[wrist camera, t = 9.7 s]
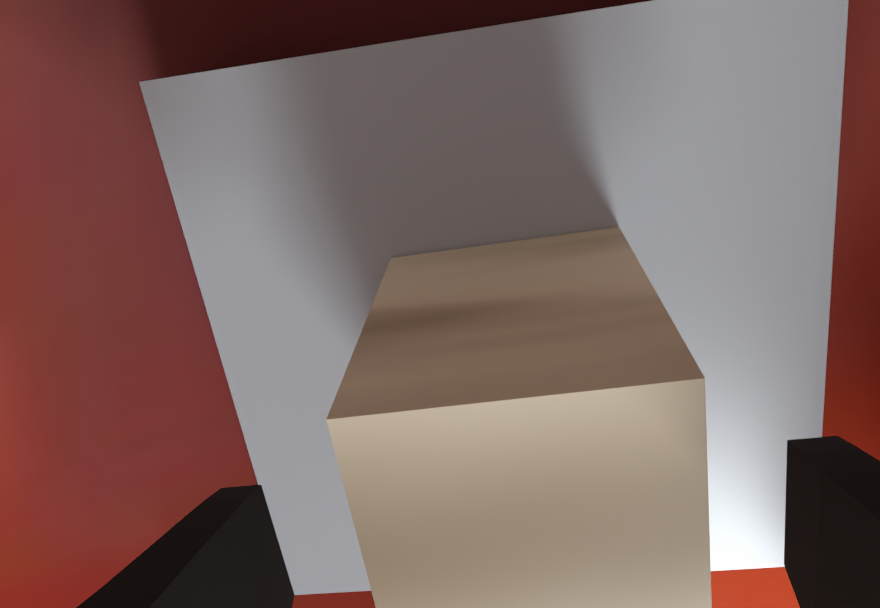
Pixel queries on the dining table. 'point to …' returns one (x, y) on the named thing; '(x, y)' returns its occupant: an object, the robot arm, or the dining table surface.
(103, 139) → the dining table surface
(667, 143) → the thin white square tile
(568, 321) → the birch block
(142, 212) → the dining table surface
